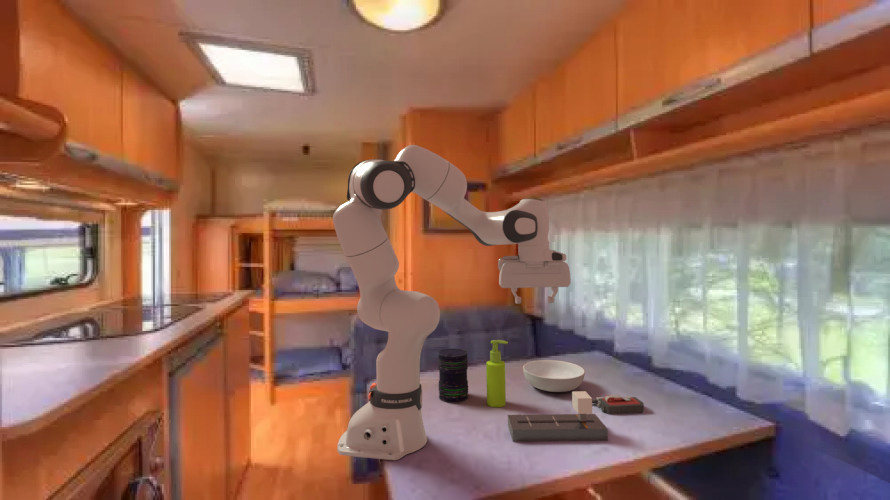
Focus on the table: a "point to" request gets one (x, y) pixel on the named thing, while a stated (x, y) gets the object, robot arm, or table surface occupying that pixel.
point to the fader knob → (582, 404)
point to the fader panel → (556, 428)
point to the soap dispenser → (496, 377)
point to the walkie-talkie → (619, 404)
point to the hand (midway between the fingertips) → (534, 303)
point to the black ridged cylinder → (453, 375)
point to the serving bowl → (554, 375)
